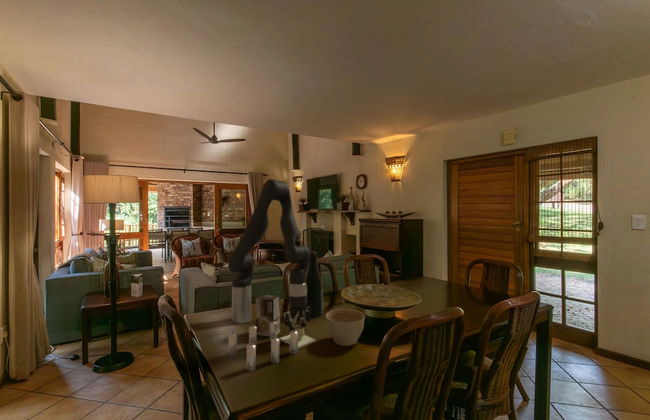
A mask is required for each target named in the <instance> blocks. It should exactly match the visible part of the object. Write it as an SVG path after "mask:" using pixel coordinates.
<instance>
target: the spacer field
mask: <svg viewBox="0 0 650 420" xmlns="http://www.w3.org/2000/svg"><path fill="white" fill-rule="evenodd" d="M289 335H290V345H289V354H290V355H292V356H294V355H297V354H298V353H299V352H298V349H299V348H298V331H296V330H292V331H290V334H289ZM257 336H258V335H257V326H256V324H255V325H250V326H248V344H247V345H246V371H247V372H253V371H255V370H256V368H257V366H256V363H257V359H256V358H257V357H256V356H257V352H256V351H257V347H258V345H257V344H258V337H257ZM270 342H271V343H270ZM269 343H270V363H271V364H278V363H279V362H280V337H278V334H277V321H271V322H270V336H269ZM237 350H238V332H236V331H230V332H229V333H228V357H236V356H237V355H238V351H237Z"/></svg>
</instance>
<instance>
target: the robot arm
mask: <svg viewBox="0 0 650 420" xmlns="http://www.w3.org/2000/svg"><path fill="white" fill-rule="evenodd" d="M273 201H278V202H279V204H280V207H281V216H280V223H279V224H280V231H281V233H282V236H283V240H284V257H285V258H286V261H288V263H290V264H296V266H295V267H294V268H291V269H290V270H289V276H288V277H289V285H288V306H289V308H288V311H286V312H285V311H284V312H282V317H283V322H284V326H286V327H287V328H289V329H288V330H289V331H288V332H289V333H288V335H290V331H292V330H295V328H294V326H295V325H296V323H297V321H298V320H299V319H300V325H301V326H304V327H305V332H306V331H307V323H308V322H310V321H311V318H312V317H311V311H312V307H309V306H307V307H306V304H307V286H306V275H307V272H308V268H309V261H310V252H311V250H310V248H309V247H308V246H307V245H303V244H300V245H296V242H298V241H299V240H300V239H301V233H300V231H299V227H298V224H297V222H296V218H295V213H294V209H293V202H292V195H291V190H290V186H289V184H288V183H287V182H285V181H282V180H279V179H278V180H277V179H272V178H270V179H267V180H266V181H265V183H264V184H263V186H262V188H261V191H260V194H259V197H258V199H257V202H256V205H255V208H253V209H254V210H253V212H252V214H251V216H250V219H248V223H247V225H246V226H245V229H244V230H243V231H244V232H243V233H242V235H241V237H240V239H239V242H238V243H237V244H236V247H235V248H234V249H233V251H232V252H231V254H230V257H229V259H228V261H227V262H228V264H227V265H228V266H227V267H228V269H229V271H230V272H231V273H233V274H238V275H237V276H236V277H235V278H233V279H232V280H231V281H232V282H231V322H232V323H234V324H245V323H249V322H250V321H251V320H252V280H253V277H254V259H253V258H254V257H253V256H252V254H251V253H249V252H250V251H251V250H252V249H253V248H254V247H255V246H256V245H257V244H258V243H259V242H260V241H262V239H263V238H264V236H265V234H266V232H267V230H268V227H269V225H270V224H269V222H270V221H269V215H268V212H269V208H270V205H271V203H272V202H273ZM305 311H306V312H305Z"/></svg>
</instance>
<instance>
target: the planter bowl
mask: <svg viewBox="0 0 650 420" xmlns="http://www.w3.org/2000/svg"><path fill="white" fill-rule="evenodd" d="M325 319H326V326H327V329H328V332H329V334H330V336H331V337H332V338H333V342H334V343H335V344H336V345H338V346H343V347H346V346H347V347H348V346H349V347H350V346H353V345H355V344H357V342H358V339H359V338H360V336H361V335H362V332H363V330H364V327H365V326H364V325H365V319H366V316H365V314H364V313H363V312H361V311H359V310H354V309H350V308H349V309H347V308H345V309H343V308H341V309H335V310H331V311H328V312H327V313H326V314H325Z"/></svg>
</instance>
